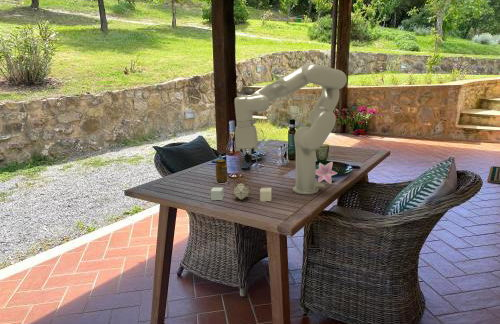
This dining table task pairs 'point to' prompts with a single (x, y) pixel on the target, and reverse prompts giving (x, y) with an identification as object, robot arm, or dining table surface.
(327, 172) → the lily
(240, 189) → the game die
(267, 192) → the off-white block
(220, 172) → the condiment
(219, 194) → the grey-green block
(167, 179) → the dining table surface
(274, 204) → the dining table surface
